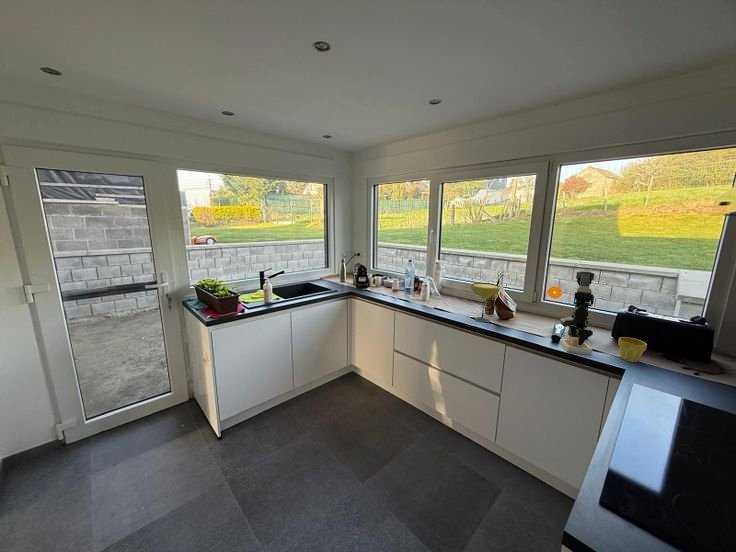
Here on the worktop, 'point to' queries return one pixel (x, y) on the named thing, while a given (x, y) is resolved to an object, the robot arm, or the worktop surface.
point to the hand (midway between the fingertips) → (576, 341)
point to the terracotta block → (574, 342)
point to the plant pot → (631, 348)
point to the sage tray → (575, 348)
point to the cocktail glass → (484, 295)
